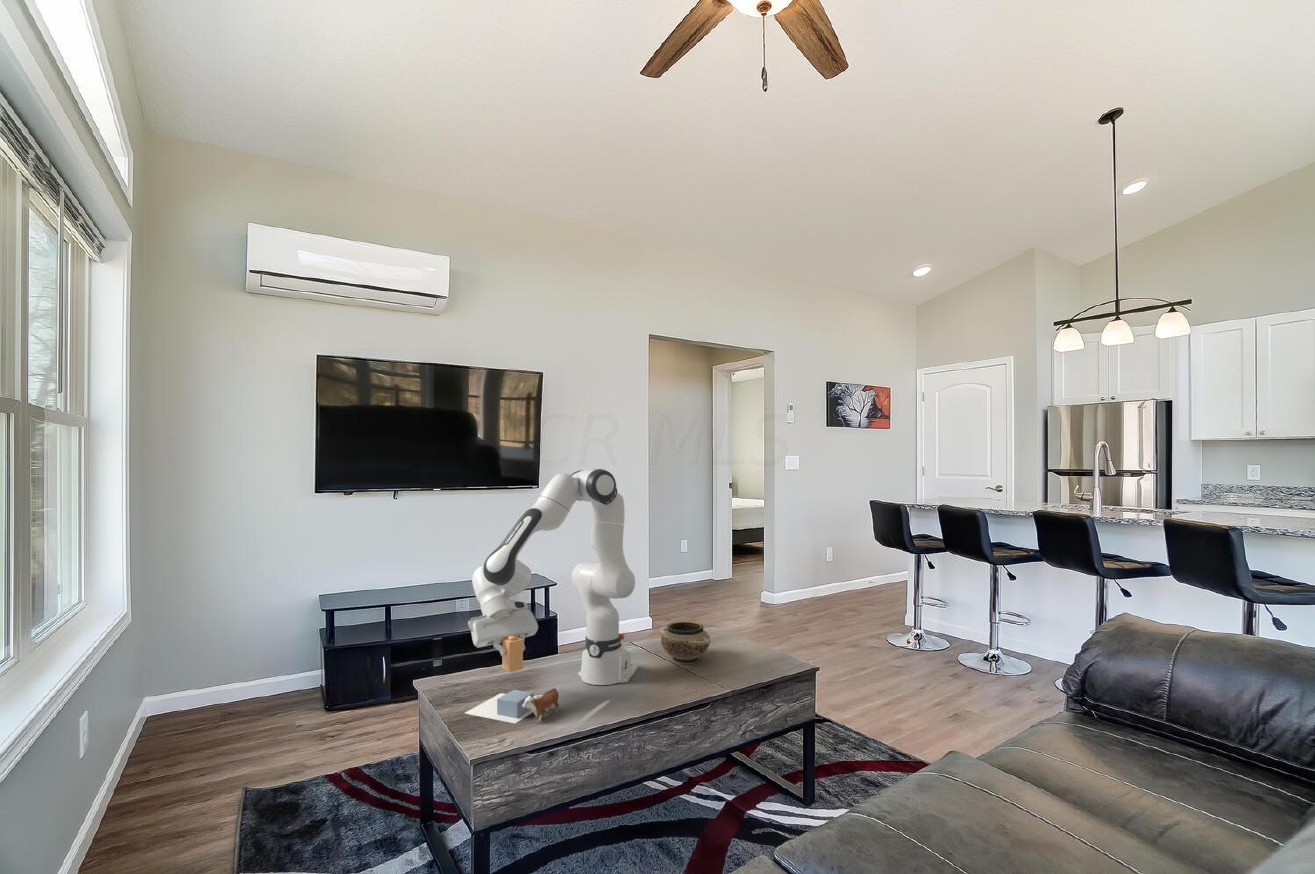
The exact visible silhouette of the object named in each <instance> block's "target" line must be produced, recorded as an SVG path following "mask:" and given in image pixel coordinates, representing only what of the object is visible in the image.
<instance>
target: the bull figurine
mask: <svg viewBox="0 0 1315 874" xmlns="http://www.w3.org/2000/svg"><path fill="white" fill-rule="evenodd" d="M558 701H559V691H558V690H557V688H552V689H550V690H547V691H545V692H544V693H541V694H538V695H533V697H531V696H528V697H527V698H526V699H525V702H524V704H523V705H522V707H523V708H526V707H527V708H528V709H531V710H532V714H534V716H535V718H538V721H541V720H542V718H543V713H544V711H545V712H548V711H549V709H552V707H553V706H554V707H555V712H557V711H558V710H559V703H558Z"/></svg>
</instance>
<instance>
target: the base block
mask: <svg viewBox="0 0 1315 874" xmlns="http://www.w3.org/2000/svg"><path fill="white" fill-rule="evenodd" d="M504 694H505V695H503V696H502V697H500V698H498V699H497V715H502V716H507V717H512V718H519V717H520V716H522V715H523V714H525V713H527V712H528V711H530V710H531V709H528V708H527V707H526V708H523V707H522V705H523V704H524V702H525V699H526V698H527V697H528V696H531V697H534V692H529V691H523V690H519V689H513V690H510V691H508V692H507V693H504Z"/></svg>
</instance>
